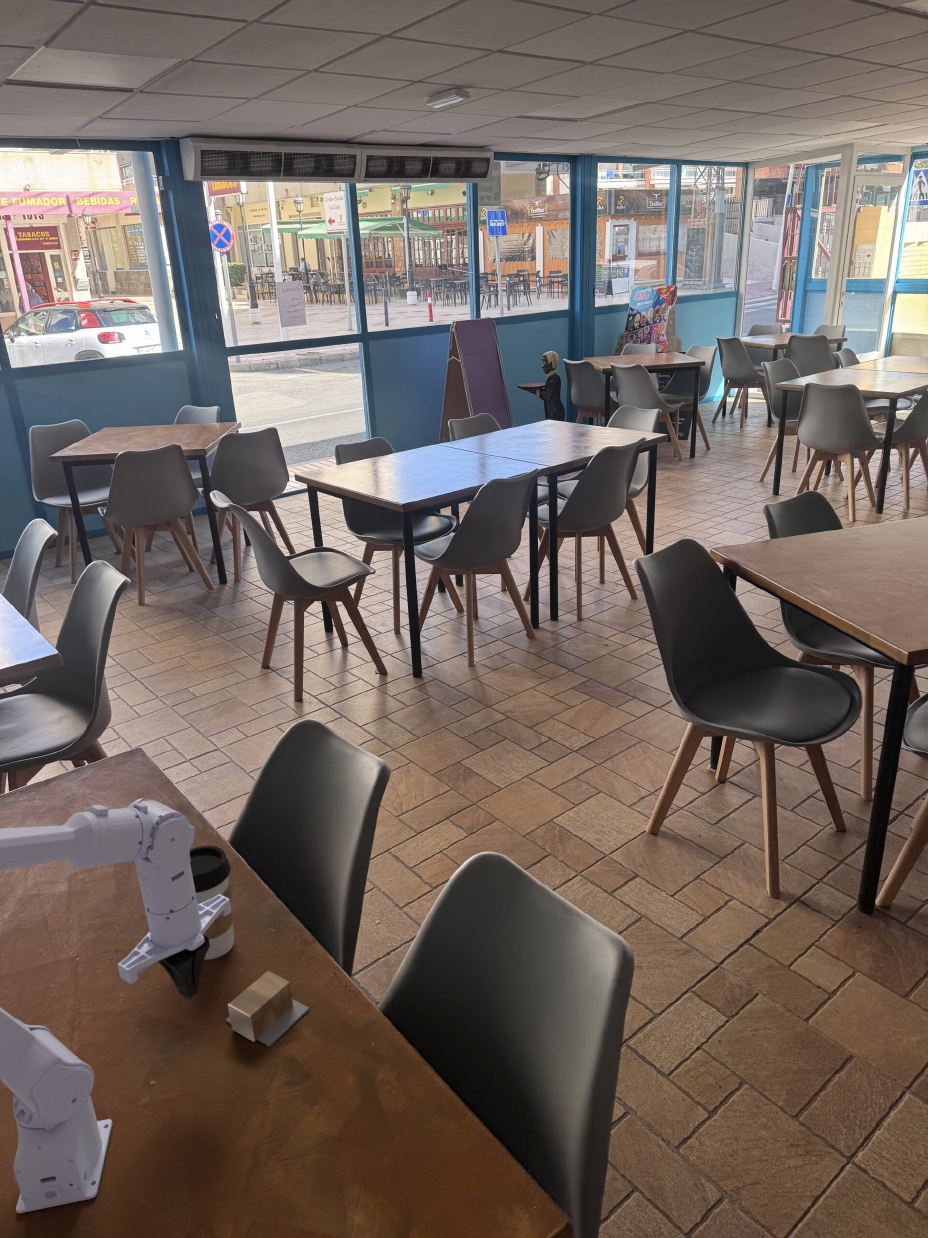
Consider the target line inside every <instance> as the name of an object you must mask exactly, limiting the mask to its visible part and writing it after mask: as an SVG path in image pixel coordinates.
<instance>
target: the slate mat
mask: <svg viewBox="0 0 928 1238" xmlns="http://www.w3.org/2000/svg"><path fill="white" fill-rule="evenodd" d="M292 1000H293V1007H292V1008H291V1009H290V1010H289V1011H287V1012H286V1013H285V1014H284V1015H283V1016H282V1017H281V1018H280V1019H279V1020H278V1021H276V1022H275V1023H274V1024H273V1025H272V1026H271V1027H270V1028H269V1029H268V1030H267V1031H265V1032H264V1033H263V1034H262V1035H261V1036H260V1037H259V1038H258V1039H257V1040H256V1041H258V1042H260V1043H262V1044H263V1045H265V1046H267V1047H269V1048H270V1047H271V1046H272V1045H273V1044H274V1043H275V1042H276V1041H277V1040H279V1038H280V1037H282V1036H283V1035H284V1034H285V1033H286V1032H287V1031H288V1030H289V1029H291V1027H293V1025H295V1024H296V1022H298V1021H299V1019H300V1020H301V1018H302V1017H303V1016H304V1015H305V1014H307V1012H308V1011H310V1008H309V1006H306V1005H304V1004H303V1003H301V1002H299V1001H297V1000H296V999H293V998H292ZM225 1022H226V1023H228V1024H229V1025H231V1020H230V1015H229V1016H228V1017H227V1018H226V1019H225Z"/></svg>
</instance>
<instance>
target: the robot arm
mask: <svg viewBox="0 0 928 1238" xmlns="http://www.w3.org/2000/svg"><path fill="white" fill-rule="evenodd" d="M89 807H90V808H89V811H80V812H79V811H78V812H75V813H74V814H72V815H71V816H70V817H69V818H67V820H66V821H65V822H64V824H62V825H44V826H42V825H41V826H22V827H5V828H0V872H5V871H10V870H15V869H21V868H26V867H31V866H35V865H40V864H45V863H51V862H55V861H61V860H66V861H67V862H68V864H69V865H71V867H74V868H75V869H87V868H94V867H99V866H106V865H112V864H120V863H127V862H133V861H134V863H135V867H136V872H137V873H136V874H137V878H138V881H139V882H138V883H139V888H140V891H141V892H140V893H141V897H142V901H143V905H144V912H145V916H146V921H147V926H148V930H149V931H148V932H147V934H146V935H145V936H144V937H143V938H142V939H141V941H139V943H138V944H137V945H135V948H134V949H132V950H131V952H130V953H129V954H128V955H127V956H126V957H125V958H124V959H122V960H121V961H120V962H118V963H117V967H118V972H119V976H120V977H119V978H121V979H123V980H124V981H125V982H127V983H128V984H131V985H132V984H133V983H135V982H136V981H137V980H139V974H141V973H142V972H144V971H145V970H146V969H148V968H149V967H151V966H152V965H153V964H155V963H157V962H158V964H159V965H160V966H161V967H163V969H164V970H165V971H166V972H167V974H168V975H169V977H170V978H171V980H172V981H173V983H174V985H175V987H176V989H177V991H178V993H179V994H180V995H181V996H183V997H185V998H187V999H189V1000H190V999H192V998H193V997H194V996H196V995H197V994H198V993H199V988H200V987H199V986H200V979H201V973H202V969H203V968H202V967H203V963H204V960H205V959H204V958H205V955H206V953H207V951H208V949H209V947H210V943H209V939H208V937H206V936H204V935H203V934H204V933H205V932H206V930H207V929H208V928H209V927H210V925H211V924H212V923H213V922H214V920H215V919H216V918H218V917H219V916H221V915H223V916H226V915H228V914H229V913H231V912H232V913H233V909H232V910H231V904H230V899H228V898H226V897H224V896H222V895H220V894H218V895H217V896H215V897H214V898H212V899H210V900H208V901H205V902H203V903H201V904H198V903H197V898H196V893H195V887H194V882H193V876H192V871H191V866H190V862H191V860H190V849H192V845H193V842H194V839H195V834H196V827H195V826H194V825H193V826H192V825H191V823H190V821H189V819H188V817H187V816H186V815H184V814H183V813H181V812H179V811H177V810H175V809H173V808H171V807H169V806H168V805H165V804H163V803H162V802H160V801H157V800H154V799H151V798H150V799H149V798H144V797H141V798H139V799H137V800H135V801H132V802H131V803H130V804H129V805H128V806H127V807H122V808H113V809H111V808H110V809H109V808H108V807H107V806H104V805H102V804H92V805H90V806H89ZM0 1083H1V1084H2V1085H4V1086H6V1087H7V1088H8V1089H9V1090H10V1091H11V1092H12V1093H13V1098H12V1099H13V1100H12V1108H13V1109H12V1113H13V1116H14V1119H15V1122H16V1126H17V1132H18V1142H17V1143H18V1145H17V1150H16V1153H15V1156H14V1160H13V1174H14V1177H15V1179H16V1182H17V1186H18V1189H19V1192H20V1193H19V1196H18V1200H17V1203H16V1206H15V1211H16V1213H17V1214H24V1213H27V1212H28V1213H29V1212H33V1211H38V1210H43V1209H46V1208H52V1207H57V1206H61V1205H66V1204H67V1205H68V1204H70V1203H71V1204H72V1203H76V1202H81V1201H86V1200H91V1199H94V1198H95V1197H96V1196H97V1194H98V1191H99V1186H100V1181H101V1177H102V1171H103V1168H104V1163H105V1160H106V1159H105V1158H106V1154H107V1149H108V1145H109V1140H110V1136H111V1132H112V1127H113V1121H112V1119H111V1118H108V1119H102V1120H97V1116H96V1111H95V1107H94V1103H93V1101H92V1097H91V1093H92V1092H93V1091H92V1090H93V1088H94V1084H95V1074H94V1071H93V1068H92V1067H91V1066H90V1065H89V1064H88V1063H86V1062H85V1061H83V1060H82V1059H80V1058H79V1057H78V1056H76V1054H74V1053H73V1052H72V1051H71V1050H70V1049H69V1048H68V1047H66V1045H64V1043H62V1042H61V1041H59V1039H58V1038H56V1036H54V1034H53V1032H52V1031H51V1030H50V1029H49V1028H48V1027H46V1026H44V1025H39V1024H37V1025H35V1024H34V1025H31V1024H26V1023H24V1022H22V1021H21V1020H20V1019H18V1018H15V1017H14V1016H13V1015H11V1014H10V1013H9V1012H7V1011H6V1010H5V1009H3V1008H2V1007H1V1006H0Z"/></svg>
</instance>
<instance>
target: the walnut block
mask: <svg viewBox="0 0 928 1238" xmlns="http://www.w3.org/2000/svg"><path fill="white" fill-rule="evenodd" d="M292 999H293V995H292V987H291V983H290V981H288V979H285V978H284V977H281V976H280V975H278V974H275V973H273V972H272V971H270V970H267V971H266V972H265V973H263V974H262V975H261V976H260V977H259V978H258V979H257V980H255V981H254V982H253V983H252V984H250V985H249V986H248V987H247V988H246V989H244V990H243V991H242V992H241V993H240V994H239V995H237V996H236V997H235V998H234V999H232V1000H231V1001H230V1002H229V1003H227V1009H228V1014H229V1016H230V1020H231V1024H230V1025H231V1029H232V1030H233V1031H234V1032H236V1033H237V1034H240V1035H241V1036H243V1037H244V1038H246V1039H248V1040H250V1041H251V1042H253V1043H255V1042H256V1041H258V1040H257V1039H258V1038H259V1037H260V1036H261V1035H262V1034H263V1033H264V1032H265V1031H267V1030H268V1029H269V1028H270V1027H271V1026H272V1025H273V1024H274V1023H275V1022H276V1021H278V1020H279V1019H280V1018H281V1017H282V1016H283V1015H284V1014H285V1013H286V1012H287V1011H289V1010H290V1009H291V1008H292V1007H293V1000H292Z"/></svg>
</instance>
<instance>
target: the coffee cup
mask: <svg viewBox="0 0 928 1238" xmlns="http://www.w3.org/2000/svg"><path fill="white" fill-rule="evenodd" d="M190 860H191V862H190V866H191V871H192V876H193V882H194V887H195V893H196V898H197V903H198V904H201V903H203V902H205V901H208V900H210V899H212V898H214V897H215V896H217V895H218V894H220V895H222V896H224V897H226V898H228V899H230V904H231V910H232V912H231V913H229V914H228V915H226V916H223V915H221V916H219V917H218V918H216V919H215V920H214V922H213V923H212V924H211V925H210V927H209V928H208V929H207V930H206V932H205V933H204V934H203V935H204V936H206V937H208V939H209V943H210V947H209V949H208V951H207V953H206V955H205V958H204V960H213V959H214V960H215V959H217V958H221V957H222V956H224V955H226V954H227V953H229V952H230V951H231V949H232V948H233V946H234V944H235V935H234V934H235V933H234V925H233V924H234V923H233V922H234V921H233V902H232V887H231V884H232V883H231V880H230V877H229V875H230V873H231V869H232V868H231V865H230V861H229V859H228V857H227V855H226V852H225V851H224V850H223V849H222V848H221V847H218V846H215V845H202V846H198V847H193V848H190Z"/></svg>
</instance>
